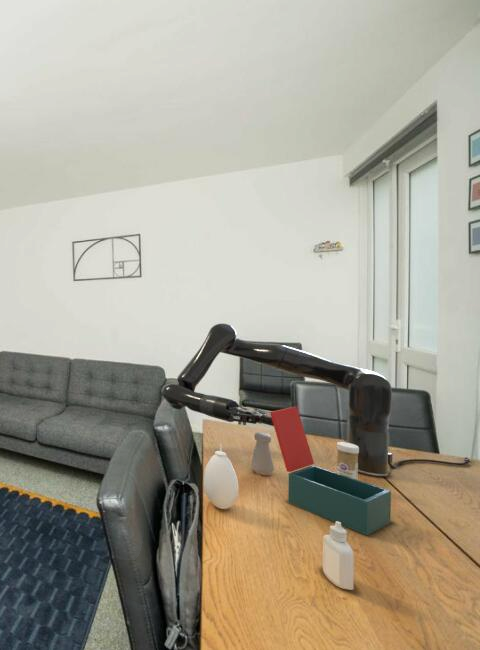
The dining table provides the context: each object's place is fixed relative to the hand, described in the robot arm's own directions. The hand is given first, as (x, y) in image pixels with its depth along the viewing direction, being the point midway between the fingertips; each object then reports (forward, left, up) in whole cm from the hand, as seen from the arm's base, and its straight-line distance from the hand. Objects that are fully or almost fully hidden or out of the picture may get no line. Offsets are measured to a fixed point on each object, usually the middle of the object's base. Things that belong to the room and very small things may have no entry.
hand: (277, 423), depth 108 cm
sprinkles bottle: (-19, +8, -20) cm, 29 cm away
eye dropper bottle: (+31, +26, -20) cm, 45 cm away
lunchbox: (0, +14, -20) cm, 24 cm away
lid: (0, +4, -3) cm, 5 cm away
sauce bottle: (+26, 0, -20) cm, 33 cm away
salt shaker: (-7, -8, -20) cm, 23 cm away
